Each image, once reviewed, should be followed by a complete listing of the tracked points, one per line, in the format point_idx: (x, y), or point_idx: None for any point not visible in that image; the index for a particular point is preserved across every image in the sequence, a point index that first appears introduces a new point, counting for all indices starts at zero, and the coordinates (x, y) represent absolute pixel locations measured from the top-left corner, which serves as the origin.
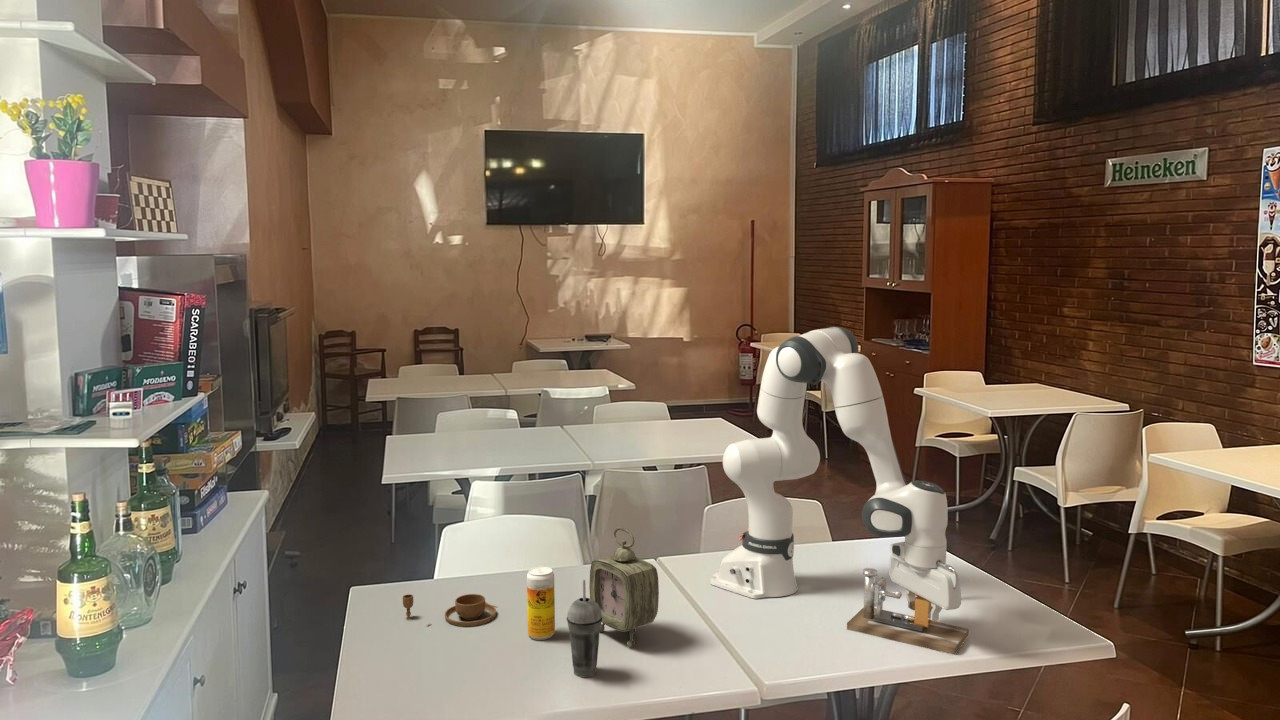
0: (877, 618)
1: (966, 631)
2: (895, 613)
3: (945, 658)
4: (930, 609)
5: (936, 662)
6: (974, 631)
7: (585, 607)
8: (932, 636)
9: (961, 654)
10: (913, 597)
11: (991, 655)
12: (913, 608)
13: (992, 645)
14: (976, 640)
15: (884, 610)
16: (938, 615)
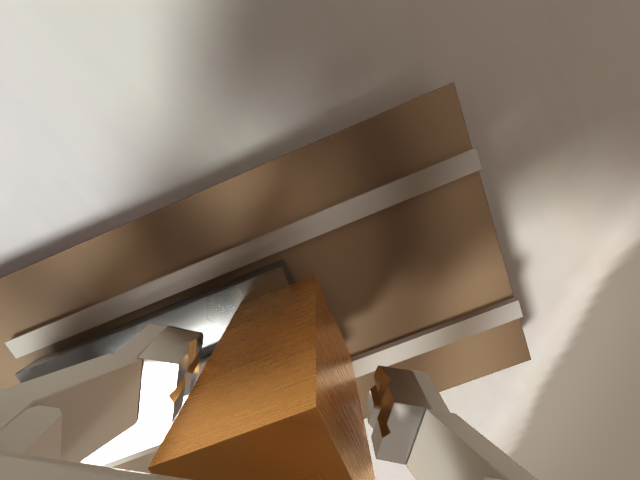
0: (109, 457)
1: (465, 135)
2: None
3: (499, 393)
4: (345, 390)
5: (493, 443)
6: (427, 11)
7: None
8: (395, 358)
9: (526, 313)
10: (104, 401)
11: (630, 212)
12: (194, 380)
13: (587, 101)
14: (498, 118)
15: (36, 368)
16: (439, 397)
